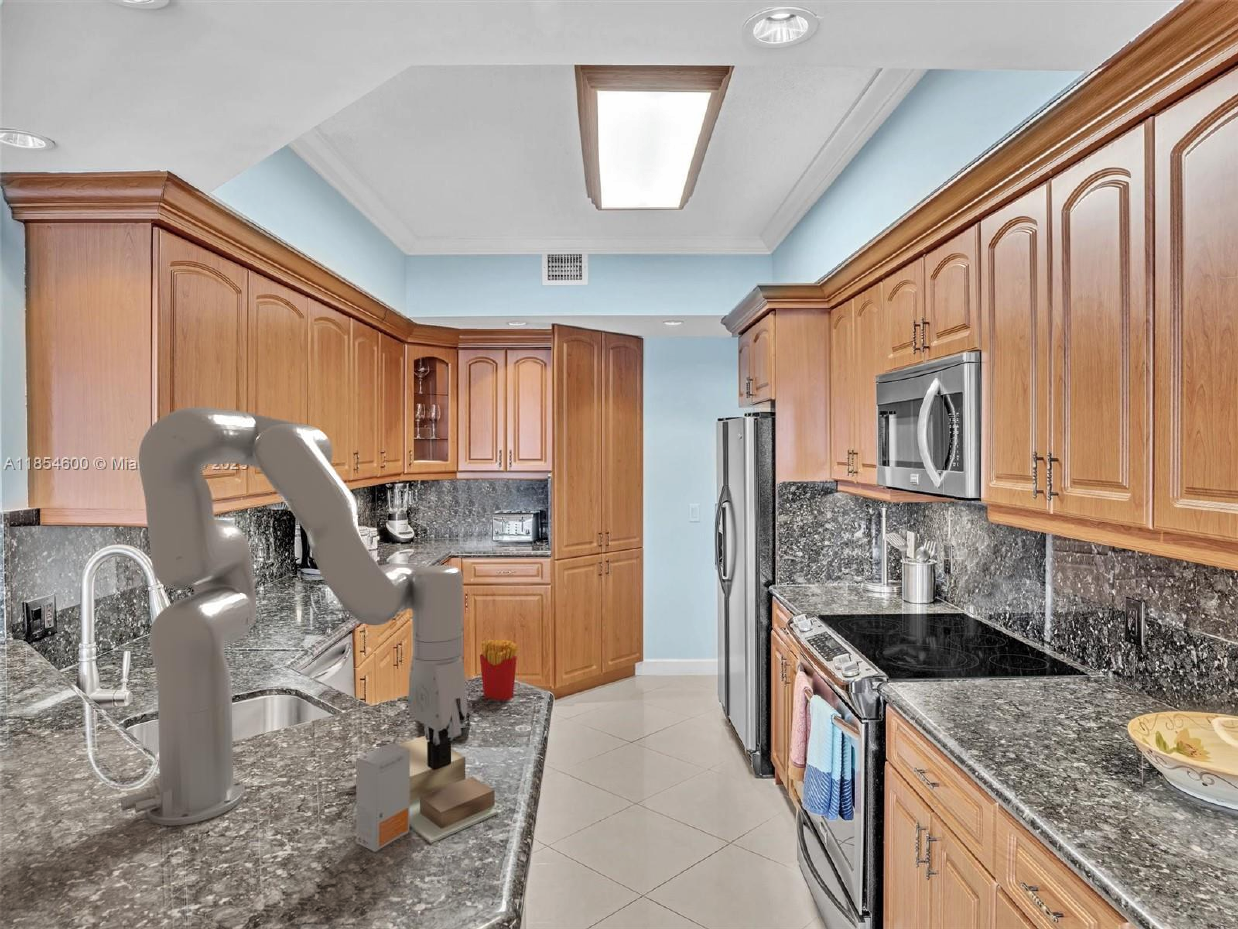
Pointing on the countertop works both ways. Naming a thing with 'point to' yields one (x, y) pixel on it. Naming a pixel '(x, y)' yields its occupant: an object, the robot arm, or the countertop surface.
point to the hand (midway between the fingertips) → (439, 765)
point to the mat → (432, 830)
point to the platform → (426, 777)
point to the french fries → (498, 669)
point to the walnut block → (457, 802)
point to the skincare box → (382, 796)
